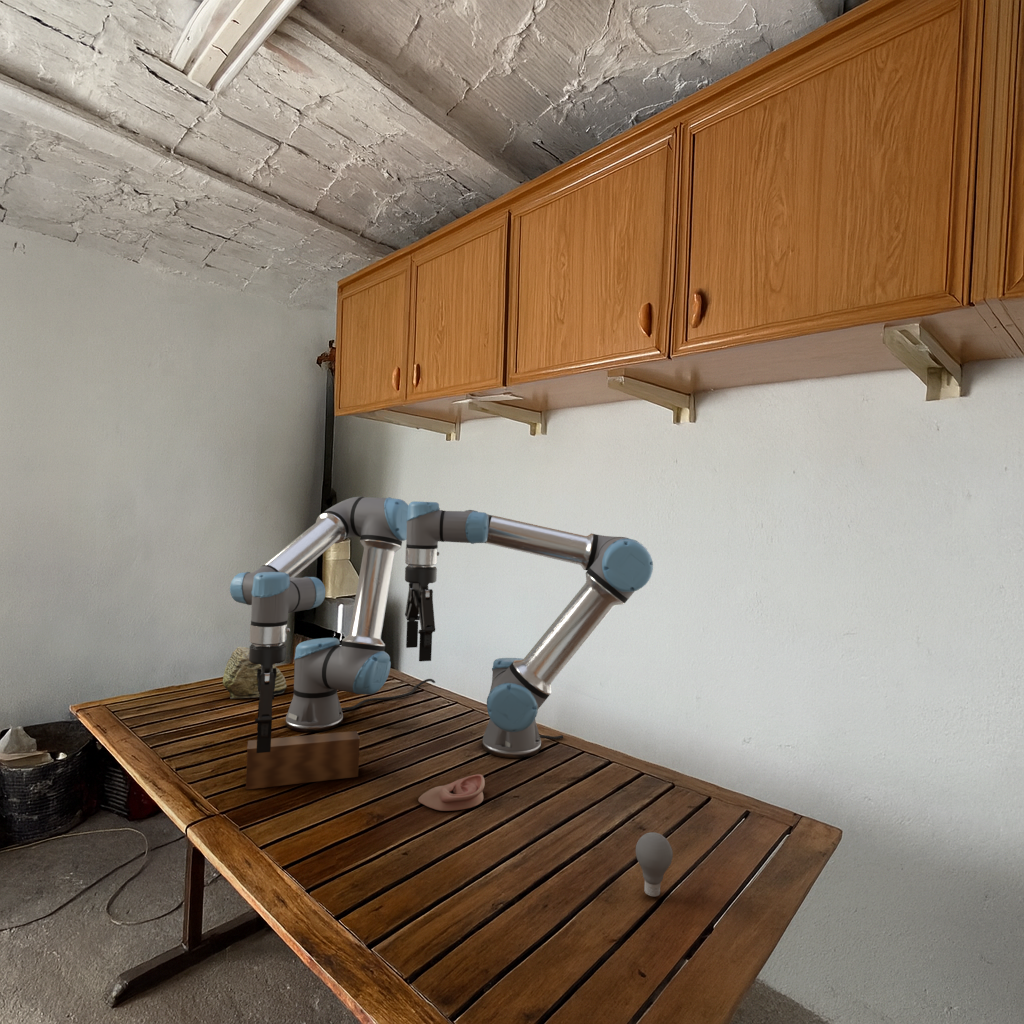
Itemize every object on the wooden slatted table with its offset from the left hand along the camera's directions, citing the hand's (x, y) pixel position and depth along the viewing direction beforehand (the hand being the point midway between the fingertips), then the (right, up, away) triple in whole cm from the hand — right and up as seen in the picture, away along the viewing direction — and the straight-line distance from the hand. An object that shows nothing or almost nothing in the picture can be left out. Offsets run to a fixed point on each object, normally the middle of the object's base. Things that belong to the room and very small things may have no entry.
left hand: (263, 740), depth 138 cm
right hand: (+32, +16, +14) cm, 38 cm away
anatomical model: (+42, -11, -4) cm, 43 cm away
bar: (+7, -10, +4) cm, 13 cm away
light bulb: (+78, -14, -34) cm, 86 cm away
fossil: (-26, -7, +60) cm, 66 cm away
